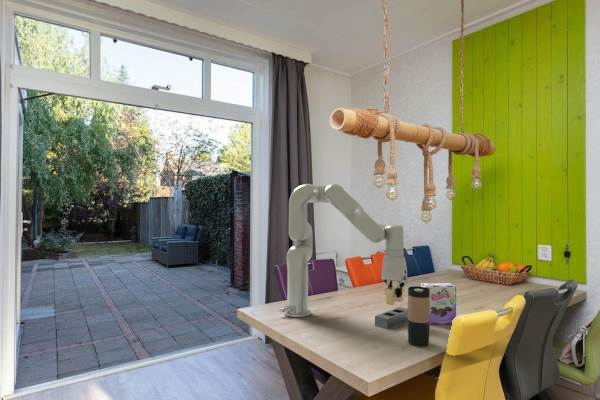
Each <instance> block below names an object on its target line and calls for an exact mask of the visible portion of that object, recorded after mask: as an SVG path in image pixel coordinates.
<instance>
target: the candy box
mask: <svg viewBox="0 0 600 400" xmlns="http://www.w3.org/2000/svg"><path fill="white" fill-rule="evenodd" d="M419 285H420V286H419V287H425V288H428V289H429V290H430V325H453V324H452V320H453V319H454V318H455V317H456V318H457V286H456V285H455V284H453V283H450V282H447V283H446V282H444V283H443V282H441V283H439V282H437V283H434V282H433V283H427V282H426V283H424V282H420V284H419Z"/></svg>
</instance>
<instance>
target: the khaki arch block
mask: <svg viewBox="0 0 600 400" xmlns="http://www.w3.org/2000/svg"><path fill="white" fill-rule="evenodd" d="M405 286H406V285H404V286H403V287H402V296H401V297H399V298H397V297H396V289H397V284H395V285H392V287H389V288H388V287H385V288H384V295H386V296H385V300H386V305H388V306H389V305H390V306H393V305H395V304H396V302H398V303H401V302H403V301H404V293H405V292H406V291H405V290H406V287H405Z"/></svg>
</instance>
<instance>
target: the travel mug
mask: <svg viewBox="0 0 600 400" xmlns="http://www.w3.org/2000/svg"><path fill="white" fill-rule="evenodd" d="M407 309H408V321H407V340H408V341H407V342H408V344H409V345H410V346H412V347H417V348H426V346H427V347H429V344H430V325H431V324H430V290H429V289H428V288H425V287H420V286H417V285H416V286H415V285H413V286H408V287H407Z"/></svg>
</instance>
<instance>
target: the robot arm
mask: <svg viewBox="0 0 600 400" xmlns="http://www.w3.org/2000/svg"><path fill="white" fill-rule="evenodd" d="M309 203H310V204H311V203H312V204H313V203H315V204H316V203H320V204H321V203H322V204H324V203H330V204H331V205H332V206H333V207H334V208H335V209H336V210H337V211H339V213H340V214H341V215H343V216H344V217H345V218H346V220H348V221H349V222H350V223H351V224H352V225H353V226H354V227H355V228H356V229H357V230H358V231H359V232H360V233H361V234H362V235H363V236H364V237H365V238H366V239H367V240H368V241H370V242H372V243H375V244H377V243H380V242H382V241H385V249H383V250H382V251H383V253H384V256H383V260H382V265H381V277H380V279H381V280H383V282H384V283H385V284H386V287H387V288H389V287H392V286H393V283H394V282H396V285H397V289H396V297H397V298H399V297H401V296H402V287H403V286H406V285H407V284H410V279H409V278H408V268H407V261H406V257H405V256H404V247H405V246H404V227H403V226H402V225H400V224H388V225H387V224H380V223H379V224H378V223H377V222H376V221H375V220H374V219H373V218H372V217H371V216H370V215H369V214H368V213H367V212H366V211H365V210H364V208H363V206H362V205H361V204H360V203H359V202H358V201H357V200H356V199H354V198H353V197H352V196H351V195H350V194H349V193H348V192H347V191H346V190H345V189H344V187H343V186H342V185H340V184H337V183H331V184H328V185H327V184H326V185H325V184H323V185H322V184H321V185H320V184H317V185H316V184H312V183H304V184H301V185H299V186H297V187H295V188H294V190H292V192H291V194H290V197H289V200H288V236H289V238H290V240H291V241H293V245H292V246H290V248H289V249H288V251H287V253H286V258H285V259H286V268H287V290H286V291H287V295H286V297H287V299H286V300H287V301H286V302H287V303H285V306H284V307H280V308H279V313H283V315H285V316H288V317H292V318H305V317H309V316H310V315H311V314H312V310H311V309H309V266H308V262H309V261H310V260H311V258H312V256H313V245H314V244H313V242H314V239H313V237H314V236H313V233H314V232H313V228H312V226H311V223H310V222H308V210H307V206H308V204H309Z"/></svg>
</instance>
